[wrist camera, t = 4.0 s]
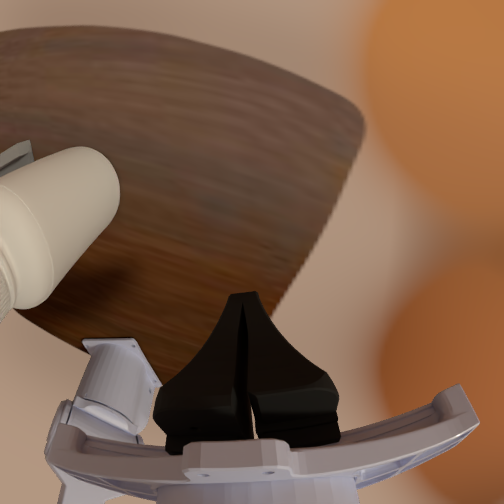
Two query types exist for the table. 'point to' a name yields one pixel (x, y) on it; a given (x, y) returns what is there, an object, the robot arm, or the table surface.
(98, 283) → the table surface
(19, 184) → the pill bottle
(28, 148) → the grey tray
